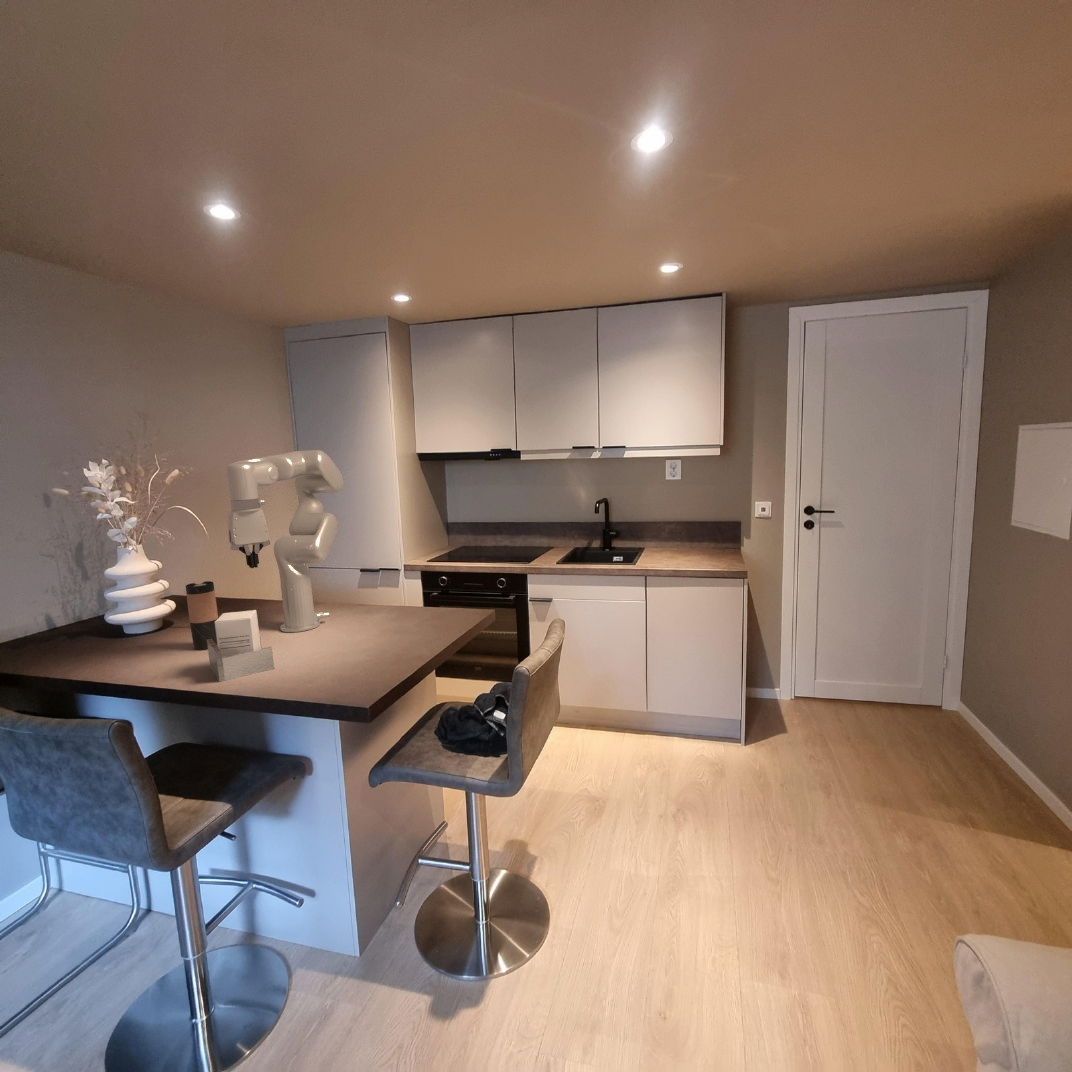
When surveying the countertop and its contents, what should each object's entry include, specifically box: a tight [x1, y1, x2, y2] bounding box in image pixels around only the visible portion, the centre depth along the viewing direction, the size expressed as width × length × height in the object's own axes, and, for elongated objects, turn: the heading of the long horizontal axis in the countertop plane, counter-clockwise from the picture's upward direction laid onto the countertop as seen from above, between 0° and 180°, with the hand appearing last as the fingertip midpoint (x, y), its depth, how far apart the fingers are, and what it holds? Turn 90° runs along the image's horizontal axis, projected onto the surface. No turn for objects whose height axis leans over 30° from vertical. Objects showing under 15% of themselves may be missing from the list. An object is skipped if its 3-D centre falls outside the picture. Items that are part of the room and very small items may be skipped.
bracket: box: [207, 637, 275, 683], centre depth 155 cm, size 13×14×8 cm
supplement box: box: [215, 609, 262, 657], centre depth 155 cm, size 9×9×15 cm
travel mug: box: [185, 581, 219, 651], centre depth 175 cm, size 8×8×20 cm
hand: (253, 567), depth 168 cm, fingers closed
